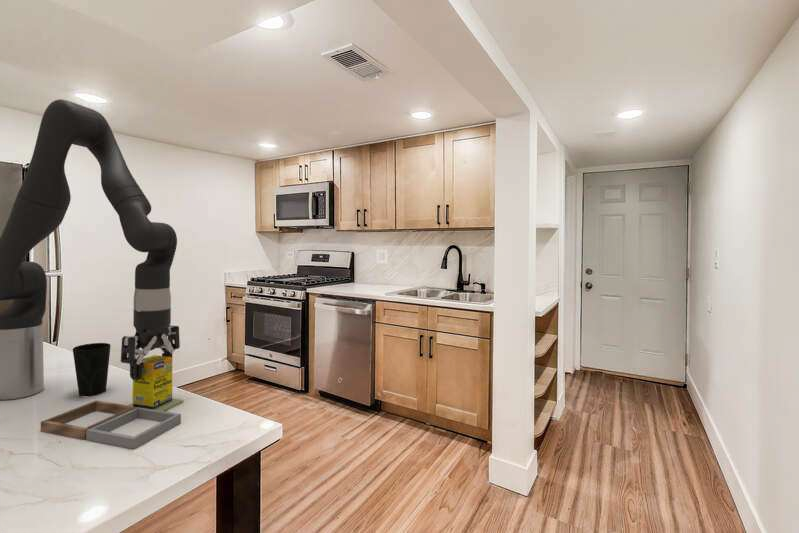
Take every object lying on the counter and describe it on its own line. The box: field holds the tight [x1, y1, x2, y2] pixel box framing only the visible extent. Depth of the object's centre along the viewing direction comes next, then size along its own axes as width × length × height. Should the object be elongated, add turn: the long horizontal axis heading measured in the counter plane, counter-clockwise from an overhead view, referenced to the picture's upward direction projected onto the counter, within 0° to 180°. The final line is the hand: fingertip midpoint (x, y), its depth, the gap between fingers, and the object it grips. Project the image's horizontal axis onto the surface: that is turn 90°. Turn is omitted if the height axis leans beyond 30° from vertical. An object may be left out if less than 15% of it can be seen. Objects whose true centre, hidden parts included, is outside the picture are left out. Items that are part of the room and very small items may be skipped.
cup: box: [72, 342, 112, 397], centre depth 102 cm, size 8×8×12 cm
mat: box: [127, 398, 184, 412], centre depth 95 cm, size 10×8×1 cm
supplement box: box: [132, 354, 173, 409], centre depth 95 cm, size 6×6×11 cm
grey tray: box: [85, 407, 182, 450], centre depth 83 cm, size 12×12×2 cm
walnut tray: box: [40, 400, 136, 441], centre depth 85 cm, size 12×12×2 cm
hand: (152, 373), depth 95 cm, fingers open, 8 cm apart
